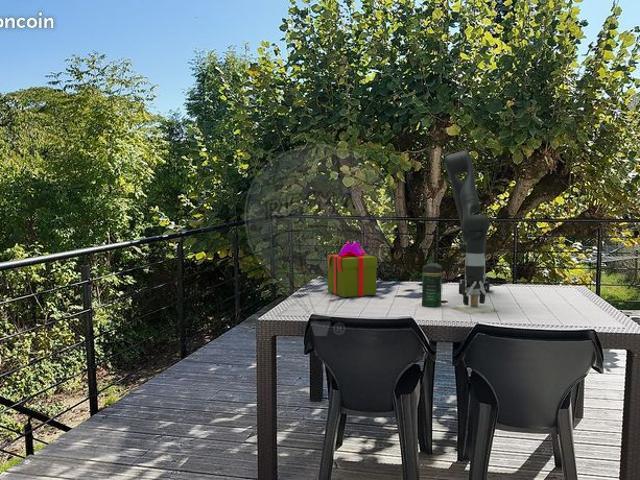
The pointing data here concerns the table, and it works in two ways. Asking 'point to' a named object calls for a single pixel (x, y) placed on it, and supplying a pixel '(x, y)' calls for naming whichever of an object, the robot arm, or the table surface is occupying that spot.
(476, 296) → the peg stand
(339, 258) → the gift box
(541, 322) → the table surface
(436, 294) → the coffee jar
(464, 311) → the mat
